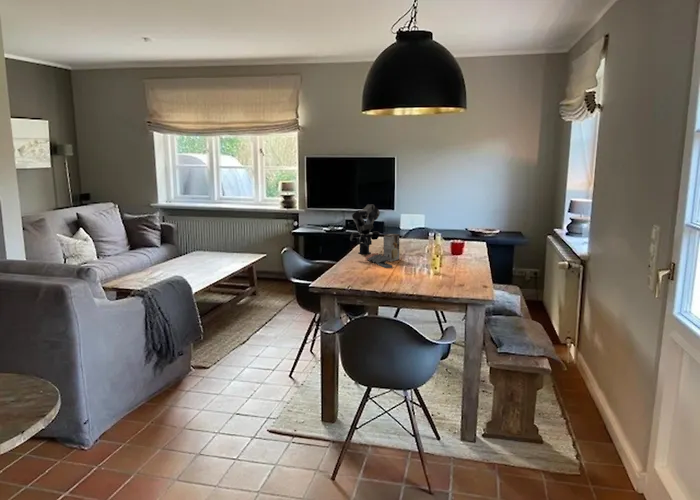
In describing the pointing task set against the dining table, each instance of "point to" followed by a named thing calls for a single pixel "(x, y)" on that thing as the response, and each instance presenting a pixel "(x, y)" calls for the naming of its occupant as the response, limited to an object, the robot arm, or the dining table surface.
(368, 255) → the loose domino
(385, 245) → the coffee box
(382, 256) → the domino
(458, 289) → the dining table surface
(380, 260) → the domino
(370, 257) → the domino
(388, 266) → the domino
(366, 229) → the robot arm
